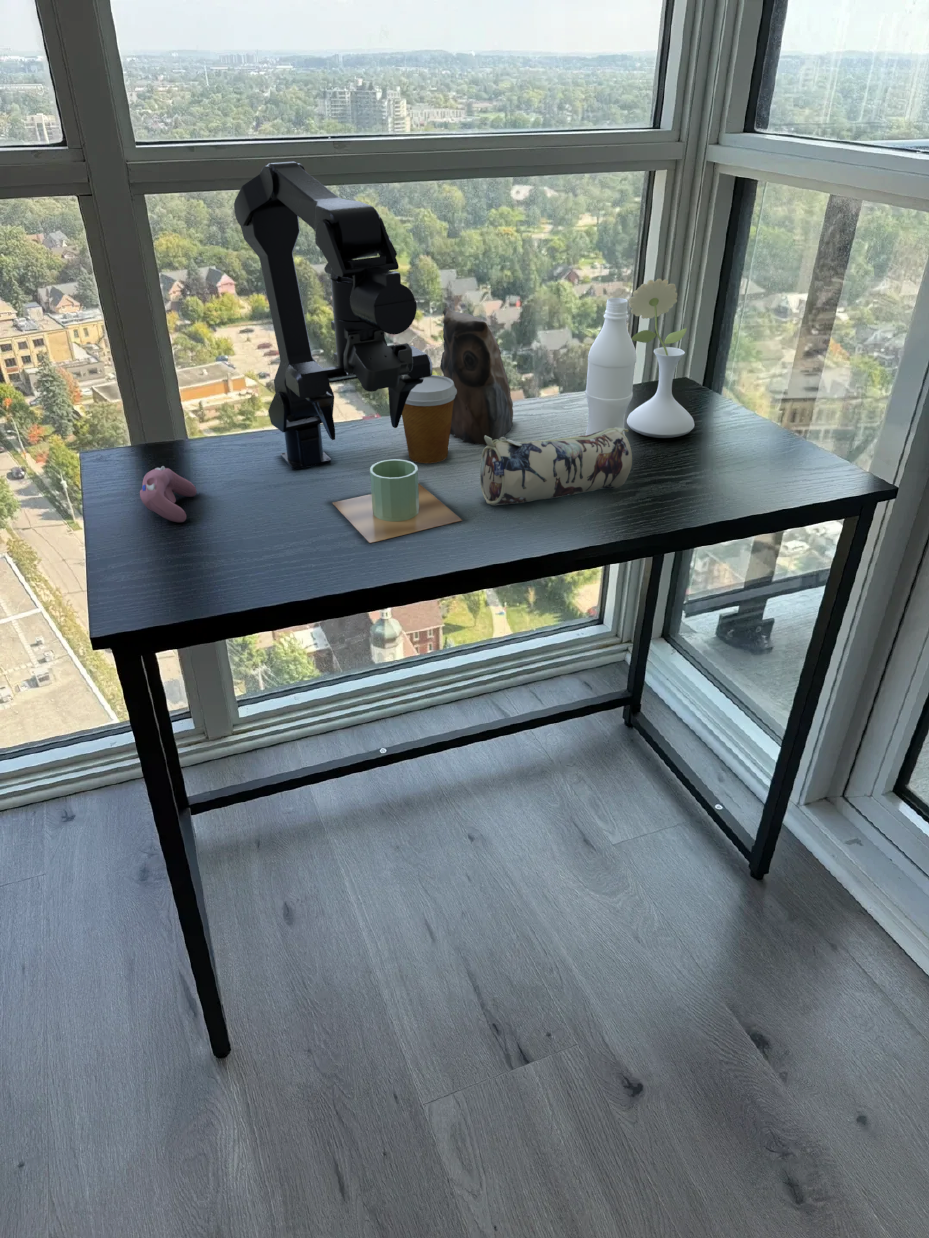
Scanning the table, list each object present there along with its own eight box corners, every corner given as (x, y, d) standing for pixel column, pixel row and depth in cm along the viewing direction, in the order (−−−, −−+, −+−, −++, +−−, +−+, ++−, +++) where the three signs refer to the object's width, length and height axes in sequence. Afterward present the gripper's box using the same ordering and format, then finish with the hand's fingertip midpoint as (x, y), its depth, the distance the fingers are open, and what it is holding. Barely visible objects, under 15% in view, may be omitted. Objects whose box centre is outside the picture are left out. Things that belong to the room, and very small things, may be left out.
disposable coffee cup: (450, 470, 135) (449, 395, 128) (391, 465, 137) (387, 391, 130) (462, 447, 143) (462, 375, 136) (407, 443, 144) (404, 372, 138)
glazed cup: (365, 507, 124) (362, 465, 120) (407, 497, 127) (405, 456, 123) (384, 525, 119) (381, 482, 116) (426, 515, 122) (425, 472, 118)
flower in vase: (693, 422, 152) (715, 273, 138) (692, 447, 143) (716, 289, 129) (618, 417, 154) (633, 269, 141) (613, 440, 145) (628, 285, 131)
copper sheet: (332, 503, 125) (332, 502, 125) (418, 484, 131) (418, 483, 131) (369, 543, 115) (369, 542, 115) (462, 520, 120) (462, 520, 120)
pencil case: (494, 516, 121) (495, 451, 116) (475, 492, 128) (475, 429, 123) (634, 496, 127) (641, 433, 122) (609, 474, 134) (615, 413, 128)
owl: (496, 450, 142) (498, 326, 131) (424, 441, 145) (420, 319, 134) (516, 423, 152) (520, 306, 141) (448, 416, 155) (447, 300, 144)
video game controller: (175, 504, 129) (144, 466, 125) (200, 490, 128) (170, 451, 124) (161, 535, 120) (128, 495, 117) (188, 521, 119) (156, 480, 116)
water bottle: (574, 468, 135) (586, 303, 122) (586, 452, 141) (599, 292, 127) (619, 475, 133) (636, 308, 119) (629, 458, 139) (647, 297, 125)
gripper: (308, 342, 100) (320, 467, 108) (451, 321, 107) (452, 440, 116) (277, 319, 108) (291, 438, 116) (412, 301, 115) (415, 414, 124)
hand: (364, 433), depth 118 cm, fingers open, 9 cm apart
